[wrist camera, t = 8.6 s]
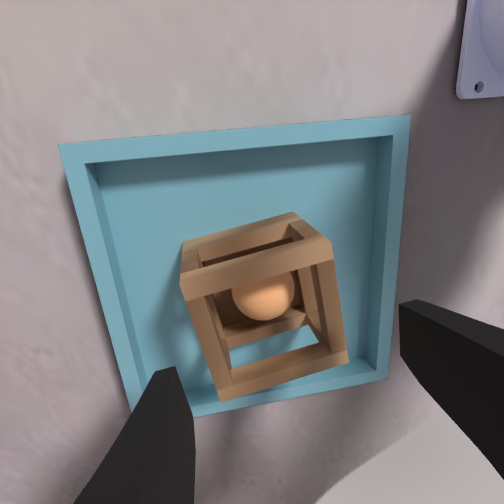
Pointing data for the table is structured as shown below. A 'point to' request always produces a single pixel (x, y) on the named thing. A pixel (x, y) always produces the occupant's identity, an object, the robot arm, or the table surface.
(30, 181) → the table surface
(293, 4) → the table surface
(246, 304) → the ball
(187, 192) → the tray
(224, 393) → the wooden cage puzzle
